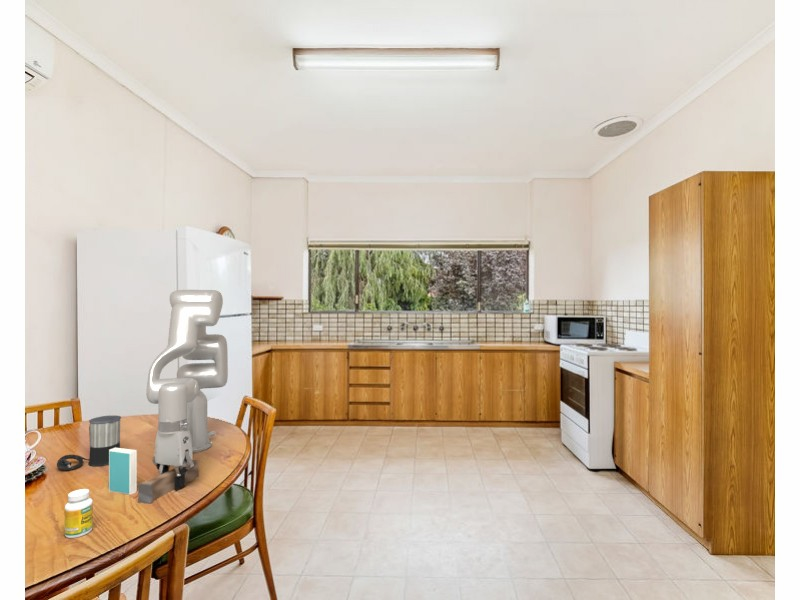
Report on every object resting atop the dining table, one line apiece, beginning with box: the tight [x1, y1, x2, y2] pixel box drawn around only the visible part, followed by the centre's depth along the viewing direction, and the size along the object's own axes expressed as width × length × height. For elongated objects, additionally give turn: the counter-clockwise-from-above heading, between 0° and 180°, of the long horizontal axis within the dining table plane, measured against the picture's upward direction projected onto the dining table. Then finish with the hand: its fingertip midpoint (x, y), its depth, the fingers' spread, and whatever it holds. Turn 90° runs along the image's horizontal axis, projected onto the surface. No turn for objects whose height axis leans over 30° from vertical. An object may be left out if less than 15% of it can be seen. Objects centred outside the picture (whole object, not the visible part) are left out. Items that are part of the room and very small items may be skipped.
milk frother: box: [56, 414, 122, 471], centre depth 144 cm, size 14×16×15 cm
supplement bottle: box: [64, 488, 94, 539], centre depth 101 cm, size 5×5×10 cm
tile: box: [108, 447, 138, 495], centre depth 123 cm, size 2×8×12 cm, turn 73°
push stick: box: [137, 459, 200, 505], centre depth 125 cm, size 19×4×5 cm, turn 164°
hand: (172, 486), depth 125 cm, fingers open, 4 cm apart
